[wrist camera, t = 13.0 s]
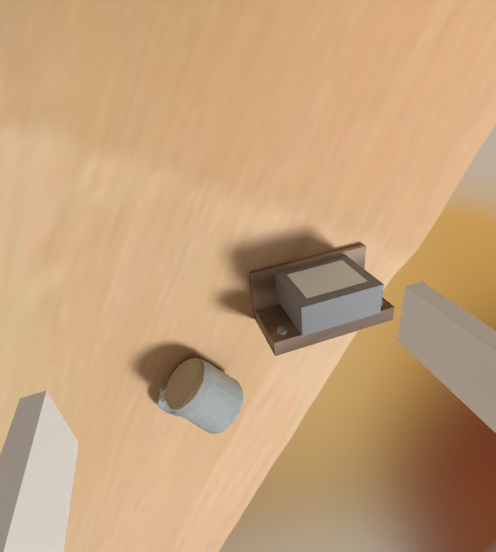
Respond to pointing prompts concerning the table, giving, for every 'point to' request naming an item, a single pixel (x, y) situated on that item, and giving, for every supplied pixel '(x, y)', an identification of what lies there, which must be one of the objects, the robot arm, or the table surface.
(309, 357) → the table surface
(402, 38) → the table surface
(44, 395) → the robot arm
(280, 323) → the wall rail
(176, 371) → the ceramic mug
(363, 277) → the grey box
